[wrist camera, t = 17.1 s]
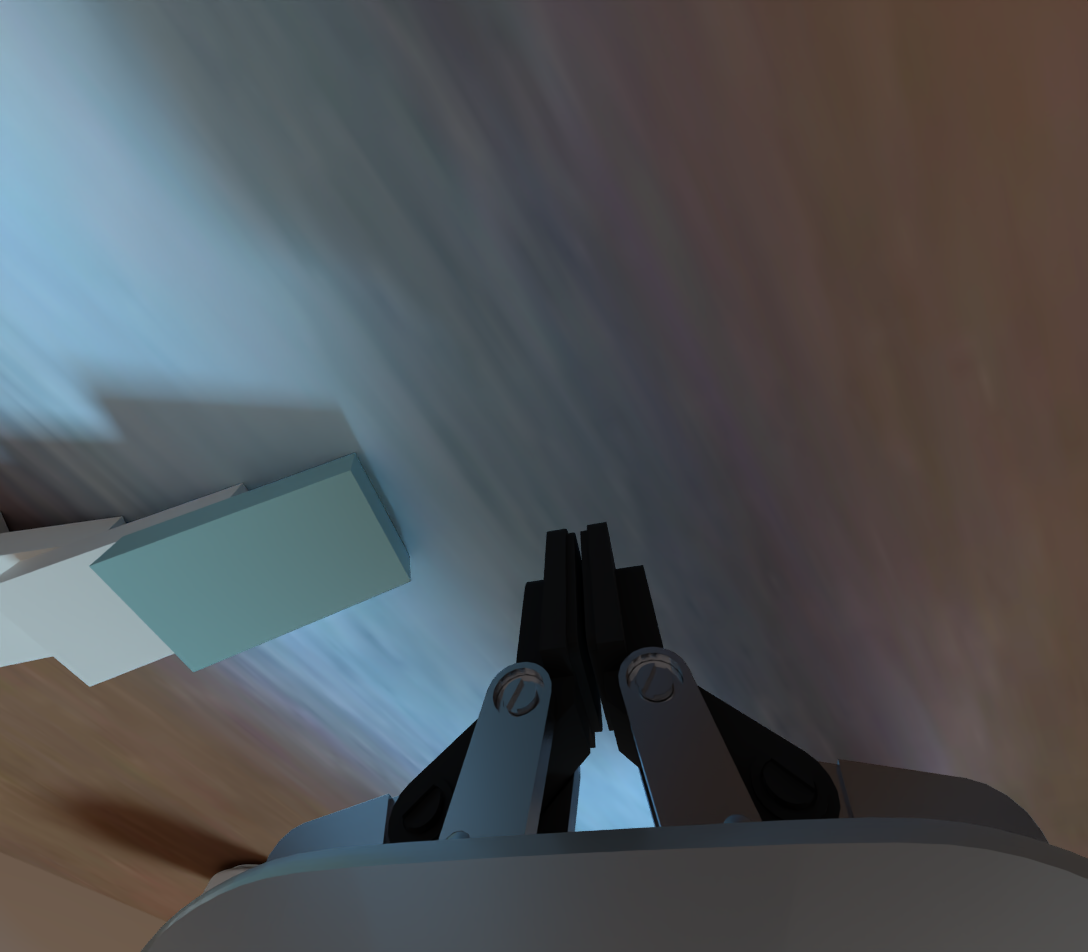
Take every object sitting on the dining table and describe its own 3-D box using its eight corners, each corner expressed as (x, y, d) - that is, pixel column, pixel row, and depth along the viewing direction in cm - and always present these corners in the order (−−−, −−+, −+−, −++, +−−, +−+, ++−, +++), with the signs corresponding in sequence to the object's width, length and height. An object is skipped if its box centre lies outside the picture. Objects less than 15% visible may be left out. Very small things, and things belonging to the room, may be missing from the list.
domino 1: (96, 541, 16) (-206, 586, 14) (153, 635, 18) (-99, 687, 16) (122, 516, 18) (-148, 554, 15) (171, 606, 20) (-57, 650, 18)
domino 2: (225, 503, 15) (-24, 591, 14) (299, 604, 17) (89, 686, 16) (243, 482, 17) (20, 560, 16) (308, 577, 19) (118, 651, 18)
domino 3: (350, 470, 14) (88, 566, 13) (410, 581, 16) (193, 672, 15) (355, 452, 16) (122, 536, 14) (409, 556, 18) (212, 636, 17)
